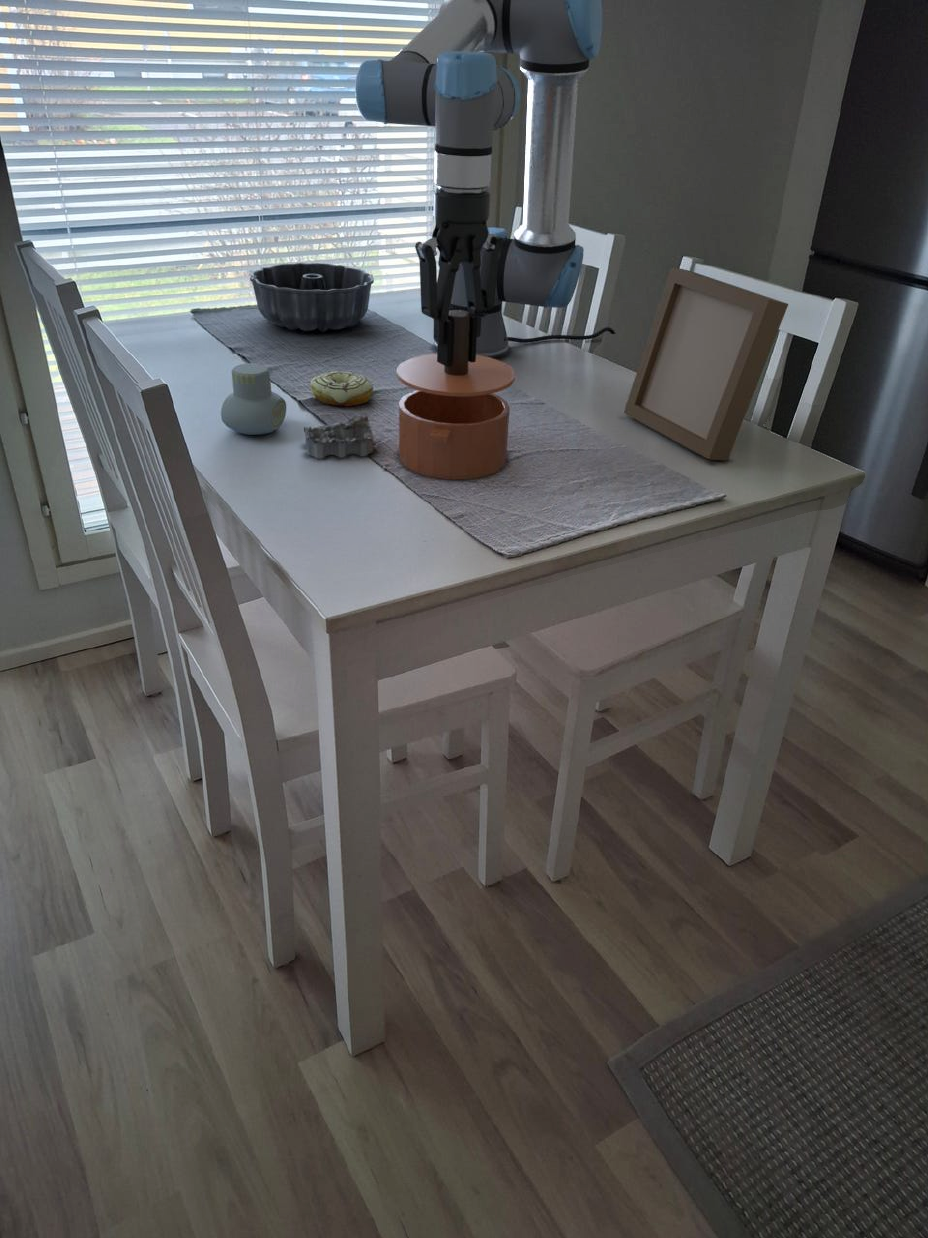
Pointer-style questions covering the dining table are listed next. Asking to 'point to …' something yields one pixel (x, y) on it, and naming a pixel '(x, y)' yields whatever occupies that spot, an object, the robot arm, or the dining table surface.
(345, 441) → the egg carton
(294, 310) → the bundt pan
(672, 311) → the photo frame
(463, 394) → the lid
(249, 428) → the air freshener
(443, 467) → the pot
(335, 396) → the decorated donut
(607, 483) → the dining table surface
